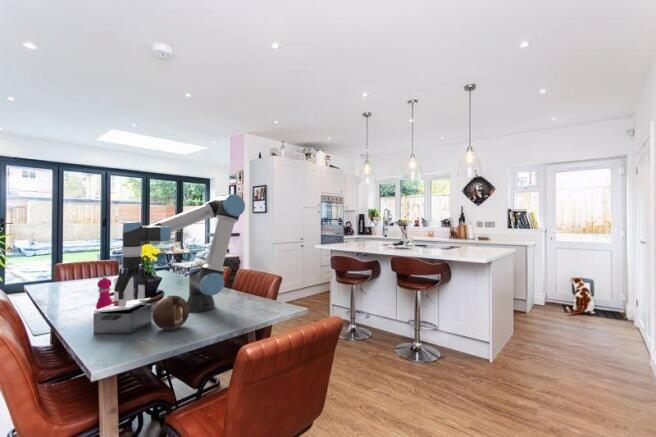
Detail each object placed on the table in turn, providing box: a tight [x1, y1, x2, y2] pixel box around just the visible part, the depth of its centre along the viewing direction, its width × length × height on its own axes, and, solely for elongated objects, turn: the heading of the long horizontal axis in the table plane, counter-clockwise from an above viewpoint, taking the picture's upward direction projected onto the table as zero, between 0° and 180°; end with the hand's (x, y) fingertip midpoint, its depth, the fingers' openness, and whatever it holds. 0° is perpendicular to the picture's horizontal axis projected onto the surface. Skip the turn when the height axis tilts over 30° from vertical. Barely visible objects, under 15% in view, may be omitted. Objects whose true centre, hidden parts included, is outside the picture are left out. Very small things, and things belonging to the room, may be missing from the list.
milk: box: [113, 275, 134, 302], centre depth 168 cm, size 6×6×22 cm
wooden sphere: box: [151, 295, 190, 331], centre depth 147 cm, size 15×15×15 cm
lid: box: [93, 297, 153, 313], centre depth 148 cm, size 16×16×3 cm
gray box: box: [93, 303, 152, 336], centre depth 148 cm, size 16×21×9 cm
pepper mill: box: [95, 275, 114, 310], centre depth 169 cm, size 7×7×20 cm
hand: (132, 302), depth 148 cm, fingers open, 13 cm apart
